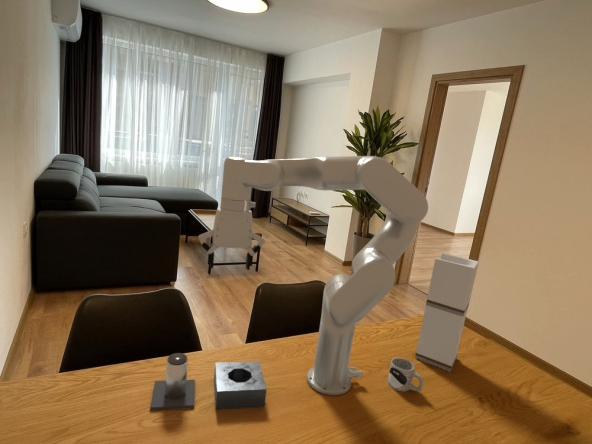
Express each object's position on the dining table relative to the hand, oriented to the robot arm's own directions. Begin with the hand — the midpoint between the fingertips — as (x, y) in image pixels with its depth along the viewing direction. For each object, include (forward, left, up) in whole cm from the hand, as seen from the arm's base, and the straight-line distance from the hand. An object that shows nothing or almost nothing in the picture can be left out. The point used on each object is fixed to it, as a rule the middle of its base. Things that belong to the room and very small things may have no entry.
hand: (229, 267), depth 102 cm
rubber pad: (+12, +11, -30) cm, 34 cm away
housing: (-4, +11, -30) cm, 32 cm away
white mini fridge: (-72, -2, -31) cm, 78 cm away
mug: (-52, +12, -31) cm, 62 cm away
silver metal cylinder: (+12, +11, -29) cm, 34 cm away
